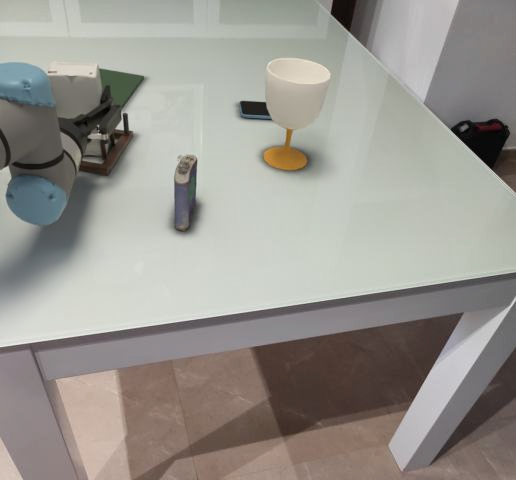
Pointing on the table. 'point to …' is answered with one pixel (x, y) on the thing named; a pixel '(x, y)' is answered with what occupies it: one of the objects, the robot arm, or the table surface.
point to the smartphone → (254, 109)
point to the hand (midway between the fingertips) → (83, 90)
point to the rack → (114, 154)
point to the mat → (120, 84)
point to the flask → (185, 191)
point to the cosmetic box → (77, 93)
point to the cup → (293, 103)
